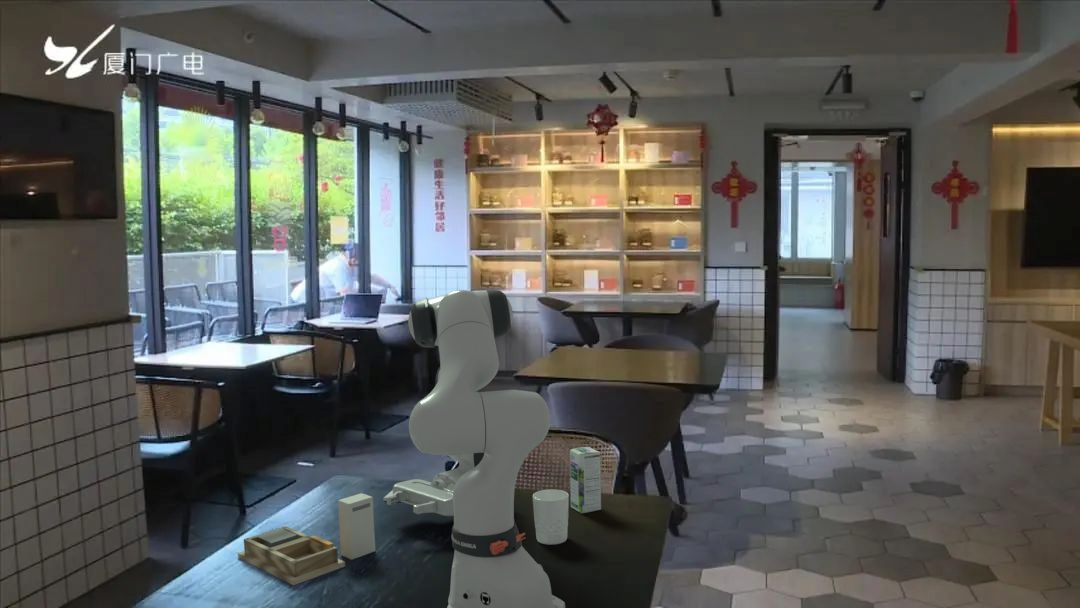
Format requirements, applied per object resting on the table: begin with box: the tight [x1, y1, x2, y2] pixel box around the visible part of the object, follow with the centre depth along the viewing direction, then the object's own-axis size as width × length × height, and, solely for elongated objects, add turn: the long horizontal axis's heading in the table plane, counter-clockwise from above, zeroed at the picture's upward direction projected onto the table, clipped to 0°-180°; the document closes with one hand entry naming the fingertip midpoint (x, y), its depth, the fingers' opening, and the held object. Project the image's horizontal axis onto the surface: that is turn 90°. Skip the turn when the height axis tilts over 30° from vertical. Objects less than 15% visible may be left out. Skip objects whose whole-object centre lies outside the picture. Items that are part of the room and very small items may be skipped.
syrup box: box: [569, 446, 602, 514], centre depth 208 cm, size 6×6×14 cm
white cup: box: [532, 489, 570, 546], centre depth 189 cm, size 8×8×10 cm
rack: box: [237, 526, 346, 586], centre depth 181 cm, size 22×12×5 cm, turn 47°
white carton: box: [337, 492, 376, 560], centre depth 184 cm, size 4×6×12 cm
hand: (401, 505), depth 193 cm, fingers open, 8 cm apart
